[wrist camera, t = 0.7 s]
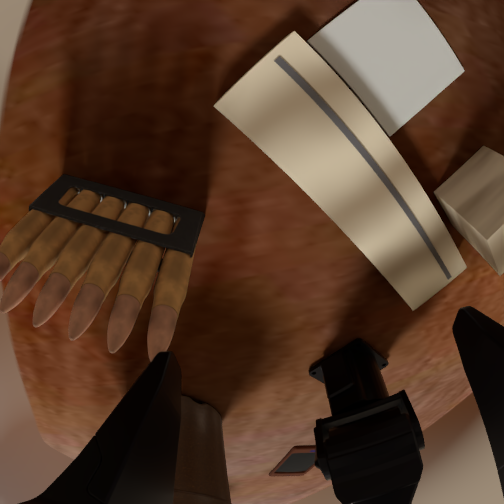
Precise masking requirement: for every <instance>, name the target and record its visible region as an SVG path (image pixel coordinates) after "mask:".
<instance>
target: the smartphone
mask: <svg viewBox="0 0 504 504" xmlns="http://www.w3.org/2000/svg"><path fill="white" fill-rule="evenodd" d="M315 449H316V446H294V447H293V448H292V449H291V450H290V451H289V452H288V453H287V455H286V456H285V457H284V458H283V459H282V460H281V461H280V462H279V463H278V464H277V466H276V467H275V468H274V469H273V470H272V471H271V472H270V473H269V476H302V475H304V474H306V473H307V472H308V471H309V470H310V469H312V468H313V467H314V466H315Z"/></svg>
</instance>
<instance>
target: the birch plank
mask: <svg viewBox="0 0 504 504" xmlns="http://www.w3.org/2000/svg"><path fill="white" fill-rule="evenodd" d="M214 107H215V108H216V109H217V110H218V111H220V112H221V113H222V114H223V115H224V116H225V117H226V118H227V119H229V120H230V121H231V122H232V123H233V124H234V125H235V126H236V127H237V128H239V129H240V130H241V131H242V132H243V133H244V134H245V135H246V136H247V137H248V138H250V139H251V140H252V141H253V142H254V143H255V144H256V145H257V146H258V147H259V148H260V149H261V150H262V151H263V152H265V153H266V154H267V155H268V156H269V157H270V158H271V159H272V160H273V161H274V162H275V163H276V164H277V165H278V166H279V167H280V168H281V169H282V170H283V171H284V172H285V173H286V174H287V175H288V176H290V177H291V178H292V179H293V180H294V181H295V182H296V183H297V184H298V185H299V186H300V187H301V188H302V189H303V190H304V191H305V192H306V193H307V194H308V195H309V196H310V197H311V198H312V199H313V200H314V201H315V202H316V204H317V205H318V206H319V207H320V208H321V209H322V210H323V211H324V212H325V213H326V214H327V215H328V216H329V217H330V218H331V219H332V220H333V221H334V222H335V223H336V224H337V225H338V226H339V227H340V229H341V230H342V231H343V232H344V233H345V234H346V235H347V236H348V237H349V238H350V239H351V240H352V241H353V243H354V244H355V245H356V246H357V247H358V248H359V249H360V250H361V251H362V252H363V253H364V255H365V256H366V257H367V258H368V259H369V260H370V261H371V262H372V263H373V265H374V266H375V267H376V268H377V269H378V270H379V271H380V273H381V274H382V275H383V276H384V277H385V278H386V279H387V281H388V282H389V283H390V284H391V285H392V286H393V287H394V289H395V290H396V291H397V292H398V293H399V295H400V296H401V297H402V298H403V299H404V300H405V302H406V303H407V304H408V305H409V306H410V308H411V309H412V310H413V311H414V310H415V309H416V308H418V307H419V306H420V305H422V304H423V303H424V302H426V301H427V300H428V299H429V298H431V297H432V296H433V295H435V294H436V293H437V292H438V291H440V290H441V289H442V288H443V287H444V286H446V285H447V284H448V283H449V282H450V281H452V280H453V279H454V278H455V277H456V276H458V275H459V274H460V273H461V272H462V271H463V270H465V269H466V268H467V267H466V265H465V263H464V261H463V259H462V257H461V255H460V253H459V251H458V249H457V247H456V245H455V243H454V241H453V240H452V238H451V236H450V234H449V232H448V230H447V229H446V227H445V225H444V223H443V221H442V220H441V218H440V216H439V214H438V213H437V211H436V209H435V208H434V206H433V204H432V203H431V201H430V199H429V198H428V196H427V194H426V193H425V191H424V190H423V188H422V186H421V185H420V183H419V182H418V180H417V179H416V177H415V176H414V174H413V173H412V171H411V170H410V168H409V167H408V165H407V164H406V162H405V161H404V159H403V158H402V156H401V155H400V154H399V152H398V151H397V149H396V148H395V146H394V145H393V144H392V142H391V141H390V140H389V138H388V137H387V136H386V134H385V133H384V132H383V130H382V129H381V128H380V126H379V125H378V124H377V122H376V121H375V120H374V118H373V117H372V116H371V115H370V113H369V112H368V111H367V110H366V108H365V107H364V106H363V105H362V103H361V102H360V101H359V100H358V99H357V97H356V96H355V95H354V94H353V93H352V92H351V90H350V89H349V88H348V87H347V86H346V85H345V83H344V82H343V81H342V80H341V79H340V78H339V77H338V75H337V74H336V73H335V72H334V71H333V70H332V69H331V68H330V67H329V66H328V65H327V63H326V62H325V61H324V60H323V59H322V58H321V57H320V56H319V55H318V54H317V53H316V52H315V51H314V50H313V49H312V48H311V47H310V46H309V45H308V44H307V43H306V42H305V41H304V40H303V39H302V38H301V37H300V36H299V35H298V34H297V33H296V32H295V31H294V32H292V33H290V34H289V35H288V36H286V37H285V38H284V39H283V40H282V41H281V42H279V43H278V44H277V45H276V46H275V47H274V48H273V49H271V50H270V51H269V52H268V53H267V54H266V55H265V56H264V57H262V58H261V59H260V60H259V61H258V62H257V63H256V64H255V65H254V66H253V67H252V68H251V69H249V70H248V71H247V72H246V73H245V74H244V75H243V76H242V77H241V78H240V79H239V80H238V81H237V82H236V83H235V84H234V85H233V86H232V87H231V88H230V89H229V90H228V91H227V92H226V93H225V94H224V95H223V96H222V97H221V98H220V99H219V100H218V101H217V102H216V103H215V105H214Z"/></svg>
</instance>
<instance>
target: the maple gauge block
mask: <svg viewBox="0 0 504 504" xmlns="http://www.w3.org/2000/svg"><path fill="white" fill-rule="evenodd" d="M434 194H435V196H436V197H437V199H438V201H439V203H440V204H441V206H442V208H443V210H444V211H445V213H446V215H447V217H448V219H449V220H450V222H451V224H452V226H453V227H454V228H455V229H456V230H457V231H458V232H459V233H460V234H461V235H462V236H463V237H464V238H465V239H466V240H467V241H468V242H469V243H470V244H471V245H472V246H473V247H474V248H475V249H476V250H477V251H478V252H479V253H480V254H481V256H482V257H483V258H484V259H485V260H486V261H487V262H488V263H489V264H490V265H491V267H492V268H493V269H494V270H495V271H496V272H497V273H498V274H499V276H500V275H502V274H503V273H504V156H502V155H501V154H499V153H497V152H495V151H493V150H491V149H489V148H487V147H486V146H484V145H483V146H482V147H481V148H480V149H479V150H478V151H477V152H476V153H475V154H474V155H473V156H472V157H471V158H470V159H469V160H468V161H467V162H466V163H465V164H463V165H462V166H461V167H460V168H459V169H458V170H457V171H456V172H455V173H454V174H453V175H452V176H451V177H449V178H448V179H447V180H446V181H445V182H444V183H443V184H442V185H441V186H440V187H438V188H437V189H436V190H435V191H434Z"/></svg>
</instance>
